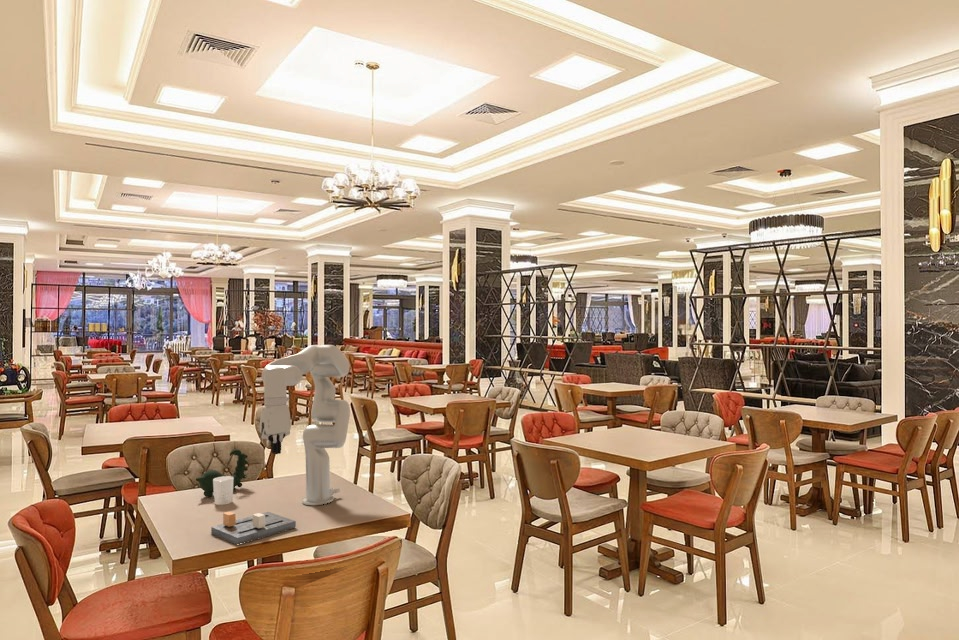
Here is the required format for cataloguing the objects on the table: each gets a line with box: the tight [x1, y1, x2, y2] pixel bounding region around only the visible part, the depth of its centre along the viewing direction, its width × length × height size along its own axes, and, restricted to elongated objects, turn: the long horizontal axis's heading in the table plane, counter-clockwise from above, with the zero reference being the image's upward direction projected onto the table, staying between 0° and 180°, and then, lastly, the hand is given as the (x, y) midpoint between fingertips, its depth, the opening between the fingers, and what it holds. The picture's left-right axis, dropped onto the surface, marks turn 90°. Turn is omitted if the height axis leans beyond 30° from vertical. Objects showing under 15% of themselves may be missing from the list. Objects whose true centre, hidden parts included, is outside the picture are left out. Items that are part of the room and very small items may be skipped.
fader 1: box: [222, 511, 237, 527], centre depth 218 cm, size 2×4×5 cm, turn 50°
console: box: [210, 511, 297, 545], centre depth 219 cm, size 22×18×3 cm
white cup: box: [213, 475, 234, 506], centre depth 256 cm, size 8×8×10 cm
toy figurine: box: [195, 448, 249, 498], centre depth 270 cm, size 9×19×25 cm
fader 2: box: [252, 512, 265, 529], centre depth 215 cm, size 2×4×5 cm, turn 50°
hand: (276, 453), depth 221 cm, fingers closed
